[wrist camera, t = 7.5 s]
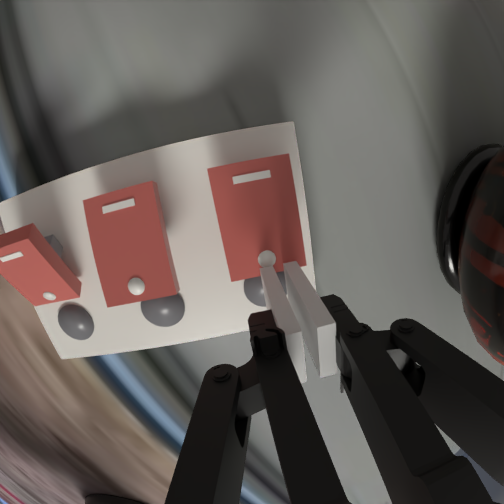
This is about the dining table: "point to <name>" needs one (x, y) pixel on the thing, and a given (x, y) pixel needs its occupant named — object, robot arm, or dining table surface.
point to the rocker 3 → (257, 215)
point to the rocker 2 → (131, 245)
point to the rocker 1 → (37, 266)
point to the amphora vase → (476, 243)
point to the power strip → (179, 236)
